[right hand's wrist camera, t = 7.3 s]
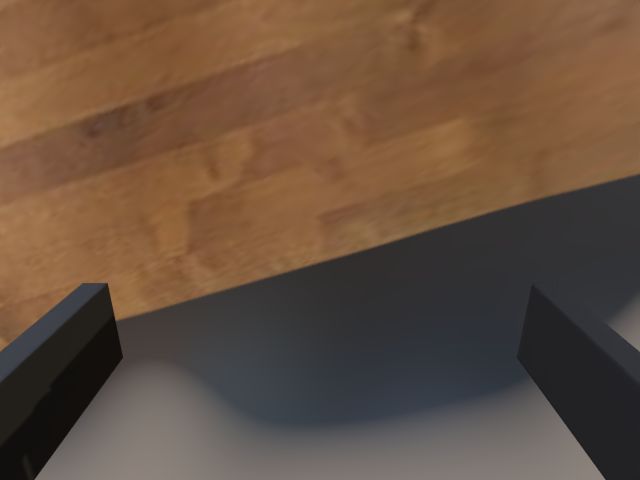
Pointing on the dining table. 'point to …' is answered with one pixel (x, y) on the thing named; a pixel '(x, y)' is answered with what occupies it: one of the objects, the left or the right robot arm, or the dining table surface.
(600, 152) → the dining table surface
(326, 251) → the dining table surface
